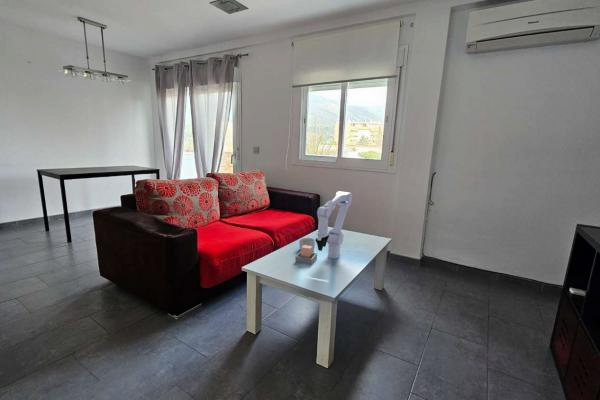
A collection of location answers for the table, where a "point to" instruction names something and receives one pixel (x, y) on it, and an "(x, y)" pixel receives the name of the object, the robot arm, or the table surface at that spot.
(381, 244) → the table surface
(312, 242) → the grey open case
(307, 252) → the coral box
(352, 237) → the table surface
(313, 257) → the tote
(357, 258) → the table surface
